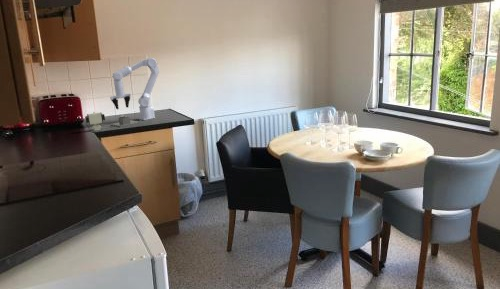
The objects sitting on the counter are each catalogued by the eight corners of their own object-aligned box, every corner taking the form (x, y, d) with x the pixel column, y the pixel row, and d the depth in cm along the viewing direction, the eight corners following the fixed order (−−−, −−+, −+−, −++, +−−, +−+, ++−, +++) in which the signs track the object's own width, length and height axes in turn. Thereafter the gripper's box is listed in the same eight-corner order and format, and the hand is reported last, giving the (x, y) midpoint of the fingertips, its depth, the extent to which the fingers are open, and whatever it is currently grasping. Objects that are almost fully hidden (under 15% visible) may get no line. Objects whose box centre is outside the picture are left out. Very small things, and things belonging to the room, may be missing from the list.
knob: (126, 122, 283) (125, 114, 282) (130, 122, 279) (129, 115, 278) (119, 123, 279) (118, 115, 278) (123, 124, 276) (122, 116, 274)
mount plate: (129, 121, 290) (129, 116, 289) (138, 122, 282) (137, 117, 281) (111, 125, 281) (110, 120, 280) (120, 126, 272) (119, 121, 272)
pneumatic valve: (106, 129, 268) (103, 111, 265) (88, 132, 264) (84, 113, 261) (105, 127, 273) (102, 110, 270) (87, 130, 268) (84, 112, 265)
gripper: (125, 87, 291) (128, 106, 295) (106, 90, 282) (110, 109, 285) (130, 87, 287) (133, 106, 290) (111, 90, 277) (115, 110, 280)
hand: (122, 108), depth 287 cm, fingers open, 7 cm apart
